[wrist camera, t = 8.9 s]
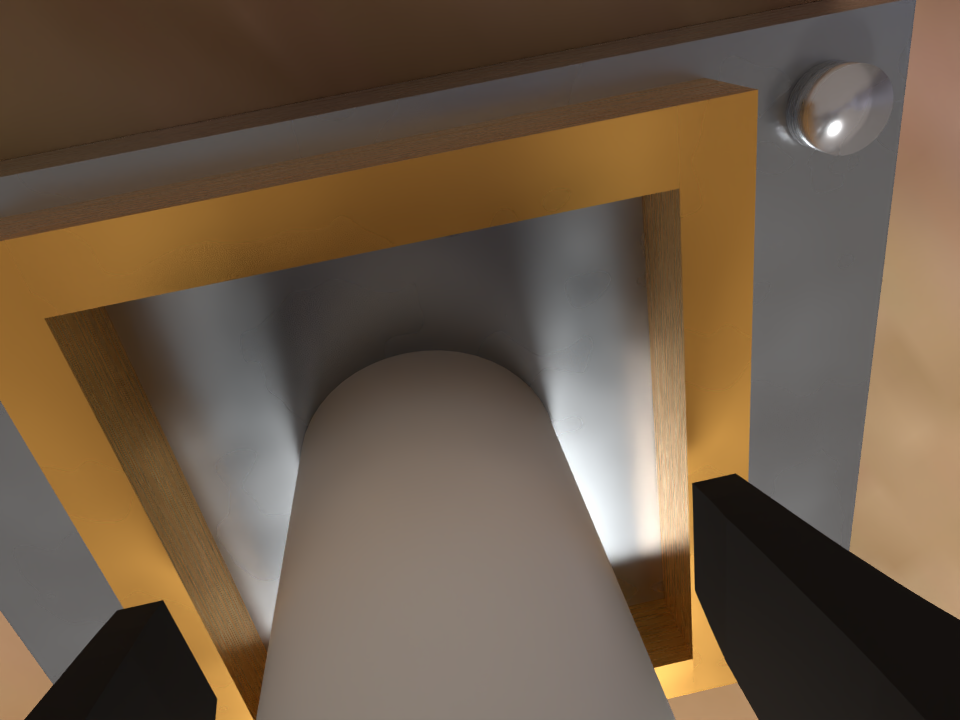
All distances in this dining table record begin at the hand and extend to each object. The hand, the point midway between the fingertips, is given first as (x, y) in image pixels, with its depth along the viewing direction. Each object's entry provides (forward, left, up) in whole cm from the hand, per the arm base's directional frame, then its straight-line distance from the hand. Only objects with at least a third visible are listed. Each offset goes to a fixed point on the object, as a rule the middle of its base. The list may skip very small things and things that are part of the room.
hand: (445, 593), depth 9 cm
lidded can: (0, 0, -3) cm, 3 cm away
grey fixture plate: (0, 0, -5) cm, 5 cm away
